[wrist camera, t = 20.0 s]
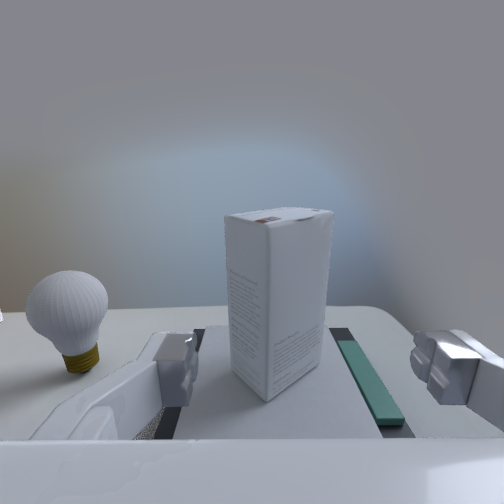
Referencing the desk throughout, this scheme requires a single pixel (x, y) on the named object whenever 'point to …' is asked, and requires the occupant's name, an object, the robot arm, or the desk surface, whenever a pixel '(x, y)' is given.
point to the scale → (286, 398)
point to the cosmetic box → (276, 294)
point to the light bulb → (69, 316)
